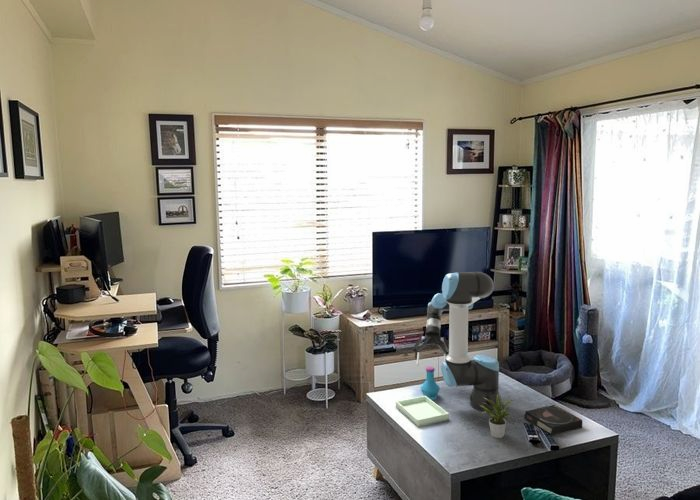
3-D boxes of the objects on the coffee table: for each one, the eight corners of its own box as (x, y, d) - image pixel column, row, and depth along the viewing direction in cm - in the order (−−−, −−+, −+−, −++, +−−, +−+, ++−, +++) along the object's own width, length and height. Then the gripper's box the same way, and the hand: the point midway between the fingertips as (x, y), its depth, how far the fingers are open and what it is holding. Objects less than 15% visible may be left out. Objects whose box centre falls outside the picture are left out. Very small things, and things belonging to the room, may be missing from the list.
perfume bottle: (441, 400, 252) (441, 370, 250) (423, 401, 252) (423, 371, 250) (437, 392, 261) (437, 364, 259) (419, 393, 261) (419, 364, 259)
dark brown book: (524, 419, 232) (524, 411, 231) (554, 412, 238) (554, 404, 237) (550, 436, 216) (550, 427, 216) (582, 428, 222) (582, 420, 222)
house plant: (502, 423, 228) (503, 388, 225) (523, 437, 215) (524, 400, 213) (475, 429, 223) (475, 393, 220) (495, 444, 210) (495, 406, 207)
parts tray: (448, 419, 232) (448, 413, 232) (417, 426, 226) (417, 420, 226) (425, 401, 251) (425, 395, 251) (395, 407, 246) (395, 401, 245)
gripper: (457, 333, 276) (455, 370, 263) (410, 330, 281) (407, 367, 269) (456, 326, 270) (455, 364, 257) (409, 324, 275) (405, 361, 263)
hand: (430, 365), depth 263 cm, fingers open, 13 cm apart
